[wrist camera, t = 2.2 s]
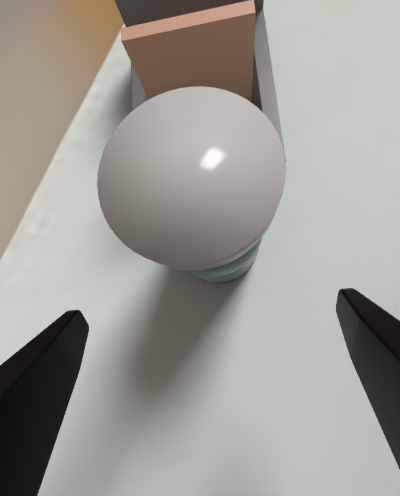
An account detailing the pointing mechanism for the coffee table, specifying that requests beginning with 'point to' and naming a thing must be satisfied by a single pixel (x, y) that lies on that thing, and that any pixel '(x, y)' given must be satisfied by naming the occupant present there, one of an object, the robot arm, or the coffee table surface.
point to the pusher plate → (195, 50)
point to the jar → (193, 181)
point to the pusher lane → (180, 3)
